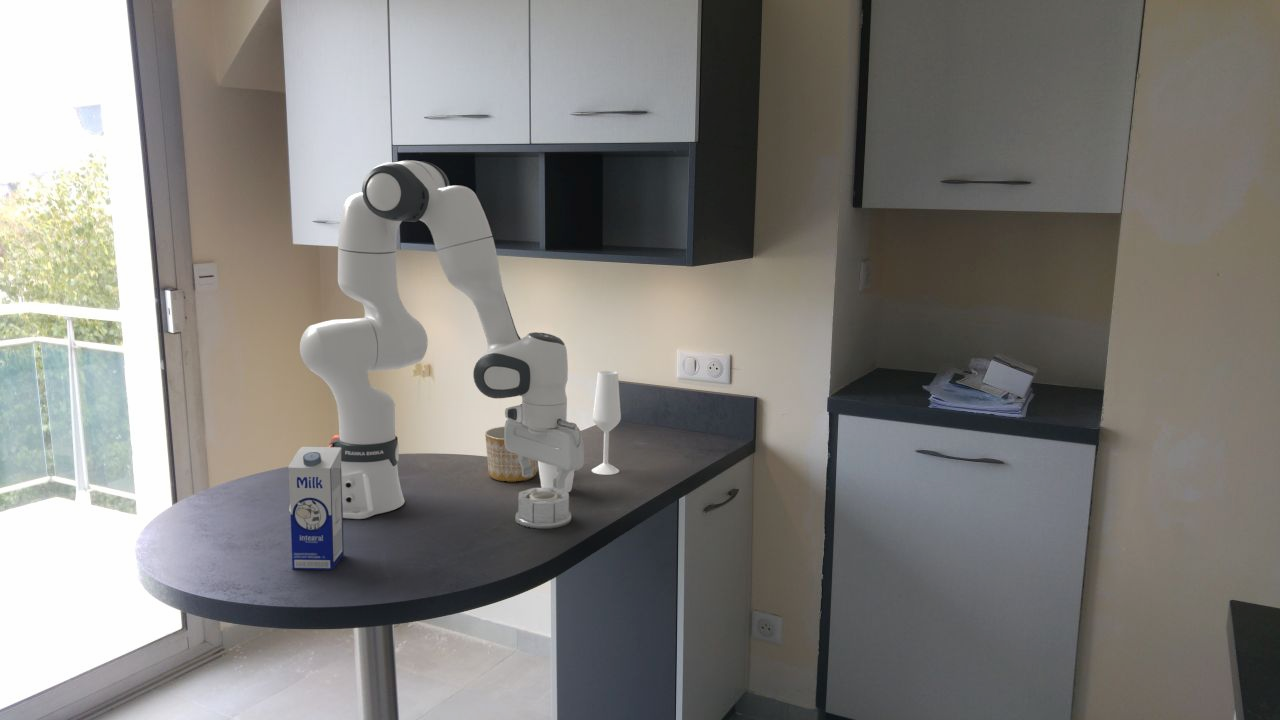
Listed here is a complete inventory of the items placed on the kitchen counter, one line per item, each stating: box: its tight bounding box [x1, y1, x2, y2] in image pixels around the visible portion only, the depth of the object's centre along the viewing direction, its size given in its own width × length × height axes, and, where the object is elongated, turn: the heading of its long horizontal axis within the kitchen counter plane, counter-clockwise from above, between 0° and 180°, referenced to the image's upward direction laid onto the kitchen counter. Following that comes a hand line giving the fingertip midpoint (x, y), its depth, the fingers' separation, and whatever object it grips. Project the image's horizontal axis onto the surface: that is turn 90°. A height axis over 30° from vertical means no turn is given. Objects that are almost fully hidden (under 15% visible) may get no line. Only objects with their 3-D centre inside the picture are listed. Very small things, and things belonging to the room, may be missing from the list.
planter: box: [484, 425, 538, 483], centre depth 210 cm, size 13×13×10 cm
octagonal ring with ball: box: [514, 487, 572, 530], centre depth 182 cm, size 11×11×5 cm
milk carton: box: [287, 446, 345, 571], centre depth 156 cm, size 7×7×20 cm
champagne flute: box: [591, 370, 622, 476], centre depth 215 cm, size 7×7×24 cm
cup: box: [537, 461, 576, 493], centre depth 200 cm, size 9×9×12 cm
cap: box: [530, 491, 557, 501], centre depth 182 cm, size 6×6×4 cm
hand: (542, 482), depth 181 cm, fingers open, 8 cm apart
